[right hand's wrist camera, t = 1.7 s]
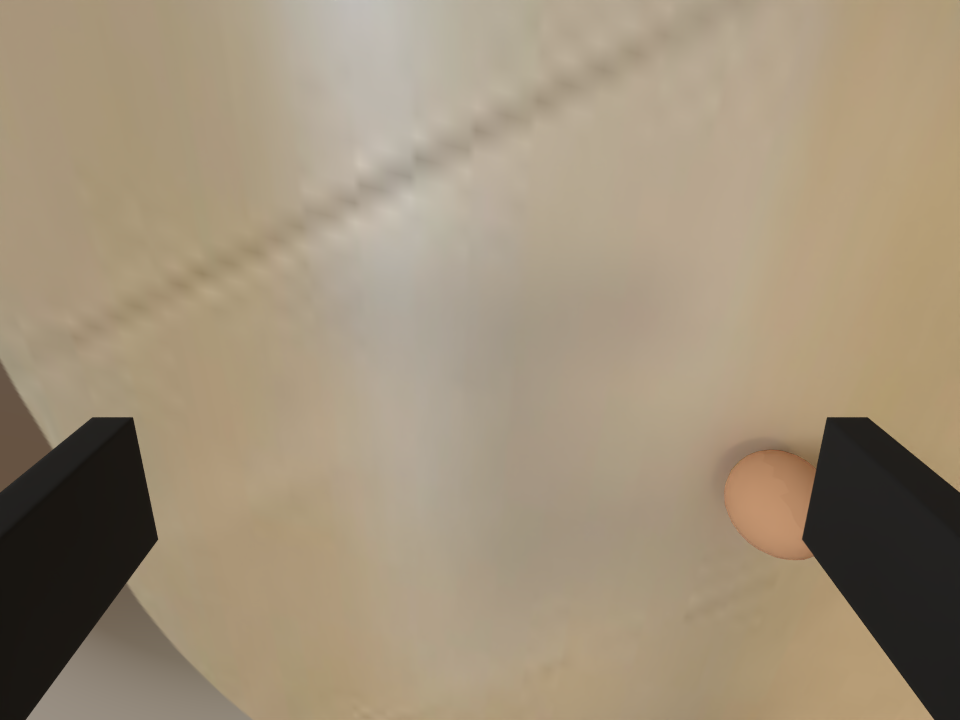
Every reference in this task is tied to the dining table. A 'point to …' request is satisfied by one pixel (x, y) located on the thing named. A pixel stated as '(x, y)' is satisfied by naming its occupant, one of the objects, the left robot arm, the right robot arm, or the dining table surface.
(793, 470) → the egg
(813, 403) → the dining table surface
